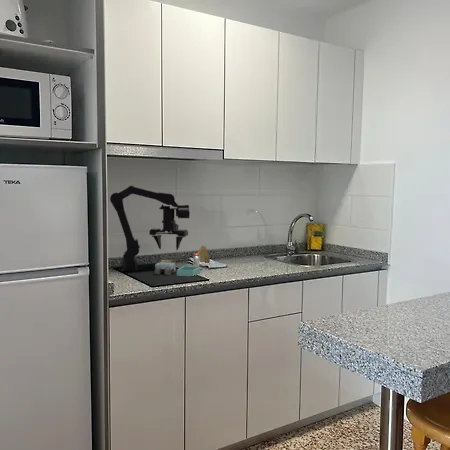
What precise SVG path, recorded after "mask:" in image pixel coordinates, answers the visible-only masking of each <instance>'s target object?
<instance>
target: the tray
mask: <svg viewBox="0 0 450 450" xmlns="http://www.w3.org/2000/svg"><path fill="white" fill-rule="evenodd" d="M200 269H201V267H200V266H199V267H193V266H190V265H189V266H188V265H183V266H182V267H180V268H178V269H177V268H176V277H177V276H179V277H190V276H194V275H195V276H197V275H199V274H200V273H201V271H200ZM195 276H194V277H195Z"/></svg>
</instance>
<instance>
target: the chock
mask: <svg viewBox="0 0 450 450" xmlns="http://www.w3.org/2000/svg"><path fill="white" fill-rule="evenodd" d="M160 262H169V263H176V259H172V258H166V259H163V260H161V261H160Z"/></svg>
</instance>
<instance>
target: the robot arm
mask: <svg viewBox="0 0 450 450" xmlns="http://www.w3.org/2000/svg"><path fill="white" fill-rule="evenodd" d="M131 195H136V196H140V197H144V198H148V199H152V200H156V201H158V202H160V203H162V204H161V206H160V207H159V208H158V209H159V210H162V221H161V223H162V229H161V228H155V227H154V228H151V229H149V233H148V234H149V236H151V237H152V238H153V239H154V240H155V242H156V244H157V247H158V249H159V250H162V242H161V241H162V239H161V237H162V235H176V237H175V241H176V242H175V244H176V245H175V248H176V251H178V250H179V248H180V245H181V242H182V241H183V238H186V237H187V236H189V231H188V229H179V228H180V227H179V224H177V222H176V219H175V217H177V219H190V204H183V205H182V204H181V205H179V204H178V203H177V202H176V201H175V199H176V198H175V196H174V194H172V193H170V192H160V191H159V192H157V191H153V190H150V189H147V188H140V187H137V186H135V185H129V186H128V187H126V188H125V189H123V190H121V191H119V192H113V193H112V194H111V195H110V197H109V201H110V203H111V205H112V206H113V208H114V210H115V211H116V213H117V215H118V220H119V223H120V225H121V228H122V231H123V235H124V237H125V242H126V243H125V244H126V251H124V252H123V255H122V260H121V261H122V264H121V265H122V269H120V272H131V273H132V272H135V271H138V270H139V268H138V259H137V257H136V256H137V255H139V253H140V249H141V244H140V243H139V238H135V236H134V234H133V231H132V228H131V226H130V222H129V219H128V216H127V213H126V211H125V210H126V209H125V202H124V199H125V198H128V197H129V196H131Z"/></svg>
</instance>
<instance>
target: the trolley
mask: <svg viewBox="0 0 450 450" xmlns="http://www.w3.org/2000/svg"><path fill="white" fill-rule="evenodd" d="M176 265H177V264H176V262H175V263H169V262H161V261H160V262H157V263H155V265H154V267H155V268H154V274H155V275H157V276H158V275H159V276H160V275H161V274H162V273H164V276H171V275H172V274H174V273H177V266H176Z"/></svg>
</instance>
